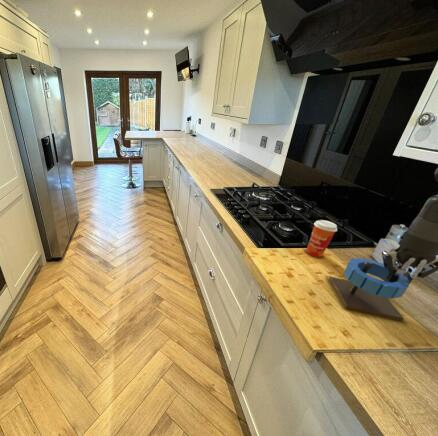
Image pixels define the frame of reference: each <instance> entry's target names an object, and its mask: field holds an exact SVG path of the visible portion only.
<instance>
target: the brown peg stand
mask: <svg viewBox="0 0 438 436" xmlns="http://www.w3.org/2000/svg"><path fill="white" fill-rule="evenodd" d="M363 266H364V267H363V269H362V272H364V273H365V274H368V273H367V271H368V269H370V268H372V264H371V263H369V262H365V263H364V264H363ZM328 280H329V282H330V284H331V286H332V288H333V289H334V292H336V294H337V296H338V298H339V300H340V301H341V303H342V305H343V306H344V308H345V309H347V310H351V311H356V312H360V313H364V314H369V315H373V316H377V317H382V318H386V319H391V320H396V321H400V322H403V320H404V319H405V318H404V317H403V315H402V314H401V312H399V310H398V308H396V307H395V306H394V304H393V303H392V301H390V300H389V299H390V298H385V297H380V296H377V295H376V294H375V295H373V294H371V293H369V292H366V291H364V290H362V288H358V287H357V286H355V285H354V284H353V283H351V282H350V280H348V279H344V278H339V277H334V276H329V278H328Z"/></svg>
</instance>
